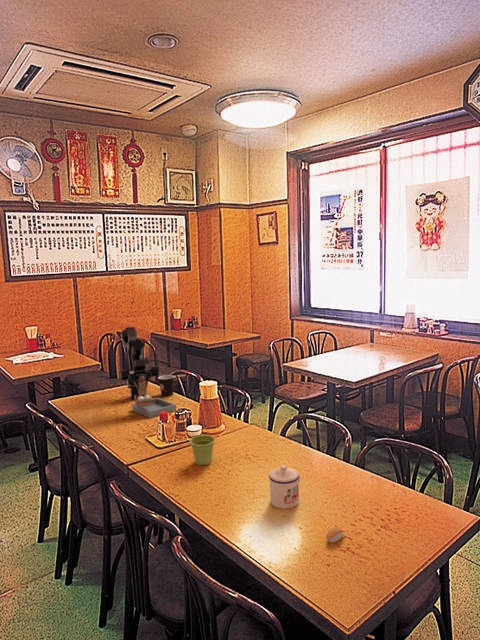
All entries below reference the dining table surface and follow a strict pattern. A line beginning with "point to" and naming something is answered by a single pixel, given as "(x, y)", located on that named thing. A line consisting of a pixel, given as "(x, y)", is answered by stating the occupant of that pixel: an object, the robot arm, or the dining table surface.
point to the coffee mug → (167, 385)
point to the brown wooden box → (142, 393)
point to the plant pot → (202, 449)
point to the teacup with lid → (284, 487)
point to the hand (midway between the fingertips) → (142, 388)
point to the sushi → (334, 534)
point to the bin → (155, 408)
